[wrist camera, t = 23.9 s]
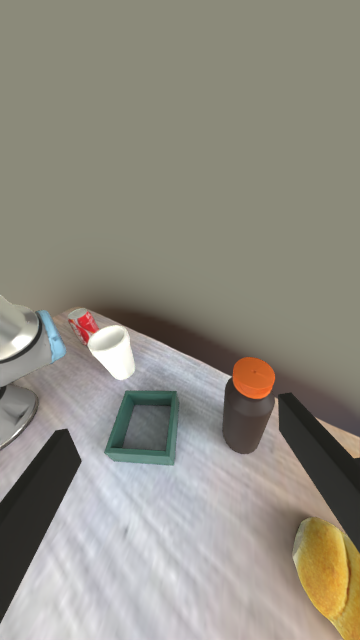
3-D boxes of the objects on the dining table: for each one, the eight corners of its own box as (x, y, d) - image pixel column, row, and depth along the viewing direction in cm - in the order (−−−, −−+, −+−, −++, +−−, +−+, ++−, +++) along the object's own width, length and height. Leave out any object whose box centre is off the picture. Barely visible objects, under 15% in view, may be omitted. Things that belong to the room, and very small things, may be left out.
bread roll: (386, 689, 16) (416, 714, 14) (284, 572, 22) (292, 576, 19) (391, 577, 21) (414, 581, 18) (304, 503, 26) (313, 498, 24)
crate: (114, 461, 33) (103, 452, 30) (132, 401, 42) (125, 390, 39) (174, 465, 31) (169, 456, 28) (179, 402, 41) (176, 390, 38)
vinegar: (255, 418, 36) (276, 352, 24) (262, 458, 31) (291, 400, 19) (222, 413, 37) (225, 350, 25) (222, 451, 32) (226, 393, 20)
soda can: (78, 344, 61) (60, 318, 54) (93, 332, 66) (78, 305, 59) (92, 349, 59) (75, 321, 51) (107, 335, 64) (93, 308, 56)
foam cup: (127, 353, 55) (113, 321, 47) (147, 366, 50) (134, 332, 42) (101, 374, 50) (80, 342, 42) (120, 391, 45) (100, 358, 37)
